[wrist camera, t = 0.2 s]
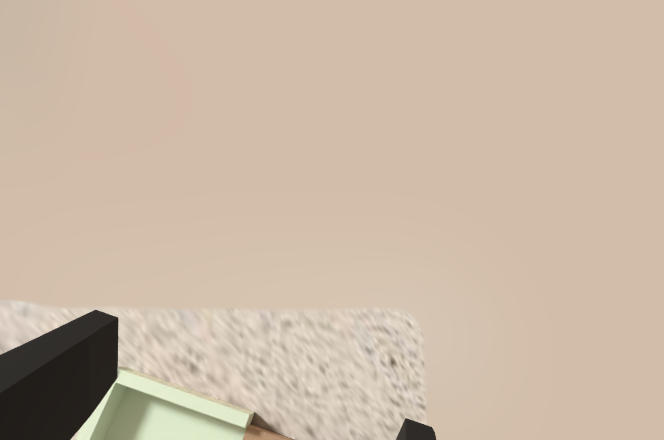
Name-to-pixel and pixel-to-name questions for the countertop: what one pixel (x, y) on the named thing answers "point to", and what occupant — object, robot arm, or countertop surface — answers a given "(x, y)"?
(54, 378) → the robot arm
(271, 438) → the board
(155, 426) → the tray
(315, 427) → the countertop surface
